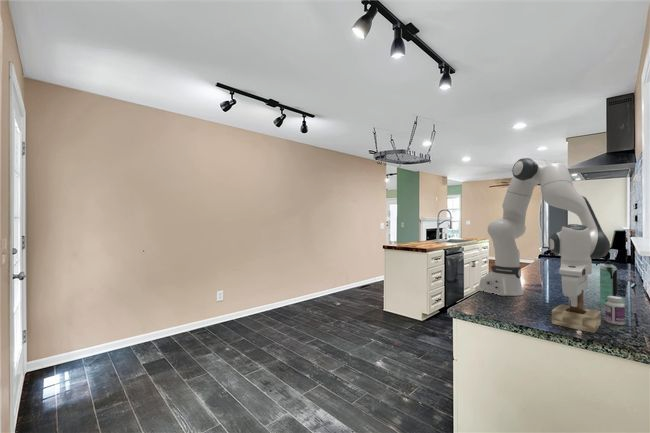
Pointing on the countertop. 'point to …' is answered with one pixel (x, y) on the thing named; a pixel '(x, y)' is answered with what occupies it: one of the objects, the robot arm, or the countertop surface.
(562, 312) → the socket block
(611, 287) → the spray can
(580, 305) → the peg
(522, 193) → the robot arm
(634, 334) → the countertop surface
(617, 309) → the pill bottle
